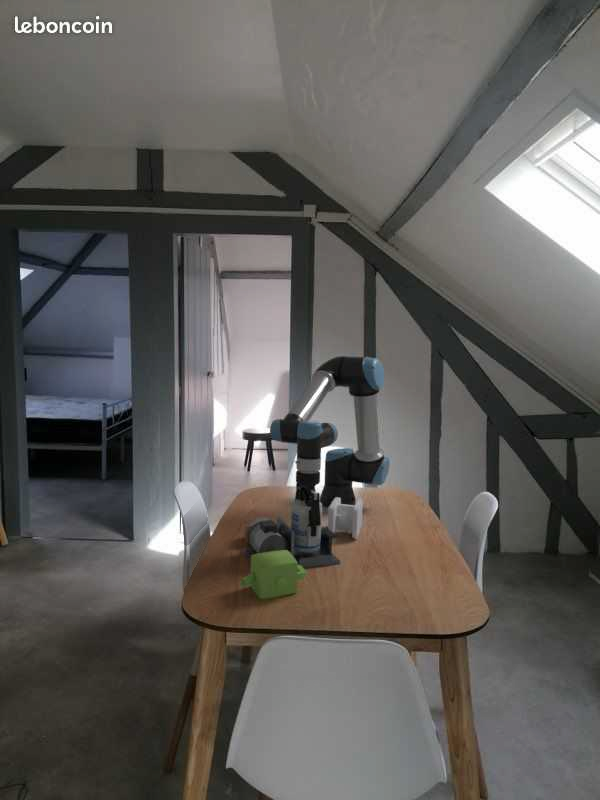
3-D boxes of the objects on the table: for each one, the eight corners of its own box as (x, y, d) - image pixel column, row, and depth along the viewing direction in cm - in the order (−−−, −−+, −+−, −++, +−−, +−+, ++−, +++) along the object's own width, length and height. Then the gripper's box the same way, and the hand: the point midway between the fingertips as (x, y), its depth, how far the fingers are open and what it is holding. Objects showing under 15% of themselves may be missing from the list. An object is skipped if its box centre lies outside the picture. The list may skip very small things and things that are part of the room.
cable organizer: (356, 542, 188) (357, 509, 186) (325, 539, 190) (327, 506, 189) (362, 528, 202) (363, 497, 201) (333, 525, 205) (334, 495, 203)
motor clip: (320, 542, 186) (321, 508, 185) (343, 563, 170) (344, 526, 168) (242, 551, 177) (243, 515, 175) (258, 573, 160) (259, 534, 159)
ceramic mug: (243, 545, 181) (244, 523, 181) (251, 537, 189) (252, 515, 188) (274, 550, 179) (275, 527, 178) (280, 541, 187) (281, 519, 186)
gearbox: (245, 607, 141) (245, 572, 140) (234, 589, 150) (234, 556, 149) (309, 595, 148) (310, 562, 147) (295, 578, 157) (296, 547, 156)
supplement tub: (285, 550, 172) (286, 504, 170) (296, 540, 181) (298, 496, 179) (314, 555, 168) (316, 509, 167) (324, 545, 177) (326, 501, 176)
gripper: (285, 463, 181) (283, 529, 183) (310, 480, 160) (307, 554, 163) (306, 462, 183) (304, 527, 186) (333, 478, 163) (330, 551, 165)
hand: (305, 539), depth 174 cm, fingers closed on supplement tub, 9 cm apart
